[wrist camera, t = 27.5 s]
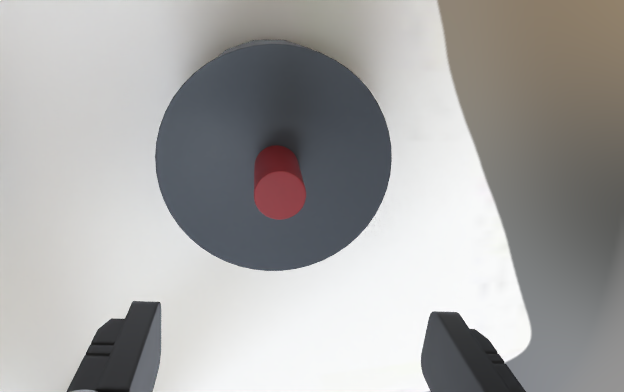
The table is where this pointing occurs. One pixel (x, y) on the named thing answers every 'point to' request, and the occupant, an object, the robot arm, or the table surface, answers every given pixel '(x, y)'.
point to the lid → (273, 157)
